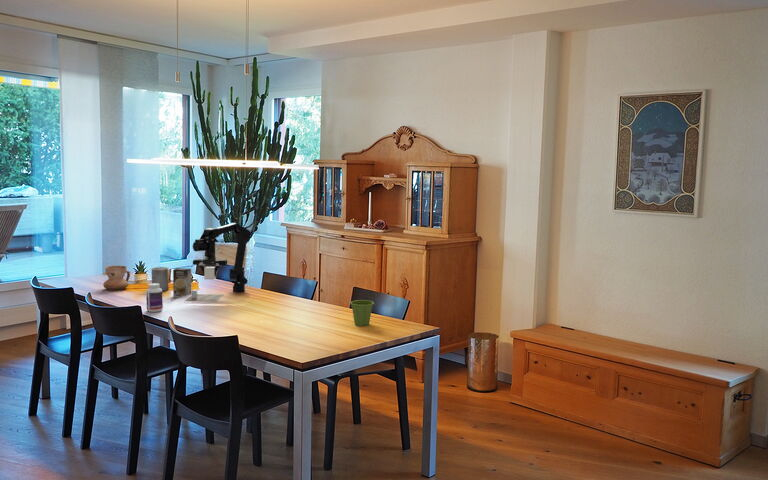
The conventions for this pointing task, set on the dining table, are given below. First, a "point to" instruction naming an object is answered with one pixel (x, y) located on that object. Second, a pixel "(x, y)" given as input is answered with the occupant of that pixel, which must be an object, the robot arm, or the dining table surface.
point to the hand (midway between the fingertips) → (210, 276)
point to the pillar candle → (160, 277)
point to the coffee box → (181, 281)
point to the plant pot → (361, 311)
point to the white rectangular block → (209, 273)
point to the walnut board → (205, 297)
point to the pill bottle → (154, 298)
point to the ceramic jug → (116, 277)
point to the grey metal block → (194, 294)
